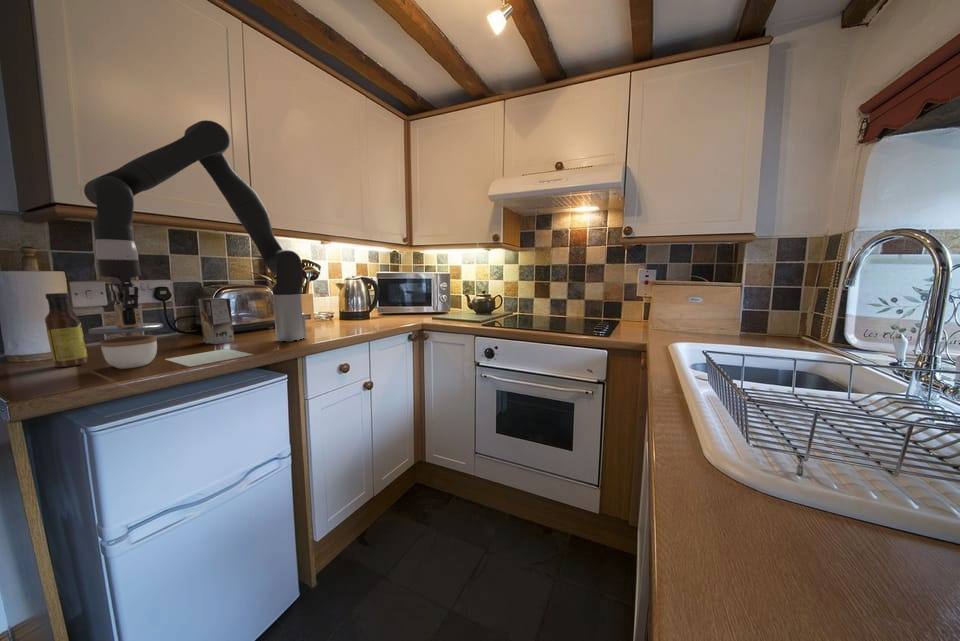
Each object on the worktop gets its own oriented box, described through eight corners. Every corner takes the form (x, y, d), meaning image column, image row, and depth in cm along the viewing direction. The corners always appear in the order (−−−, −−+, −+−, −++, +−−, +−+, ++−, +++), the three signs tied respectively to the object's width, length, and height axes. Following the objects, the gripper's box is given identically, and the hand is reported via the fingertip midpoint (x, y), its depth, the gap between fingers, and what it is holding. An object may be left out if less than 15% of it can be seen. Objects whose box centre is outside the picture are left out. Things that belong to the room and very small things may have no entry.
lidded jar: (95, 369, 91) (89, 334, 90) (146, 360, 101) (142, 328, 100) (117, 374, 87) (112, 337, 86) (168, 363, 97) (164, 330, 96)
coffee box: (235, 341, 128) (231, 298, 126) (215, 345, 122) (210, 299, 120) (221, 339, 132) (217, 297, 130) (202, 342, 127) (197, 298, 124)
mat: (226, 349, 114) (226, 348, 114) (253, 355, 107) (253, 354, 106) (164, 360, 101) (164, 359, 101) (189, 368, 93) (189, 366, 93)
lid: (151, 324, 102) (148, 301, 101) (172, 328, 95) (169, 303, 94) (81, 331, 90) (77, 305, 89) (98, 336, 83) (94, 307, 82)
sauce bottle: (95, 362, 99) (84, 292, 96) (67, 368, 92) (54, 293, 90) (74, 361, 99) (63, 292, 97) (45, 367, 93) (32, 293, 90)
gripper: (147, 258, 90) (156, 324, 92) (128, 259, 97) (136, 320, 99) (106, 257, 84) (117, 328, 86) (88, 258, 91) (98, 324, 93)
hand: (127, 323), depth 93 cm, fingers closed on lid, 3 cm apart
